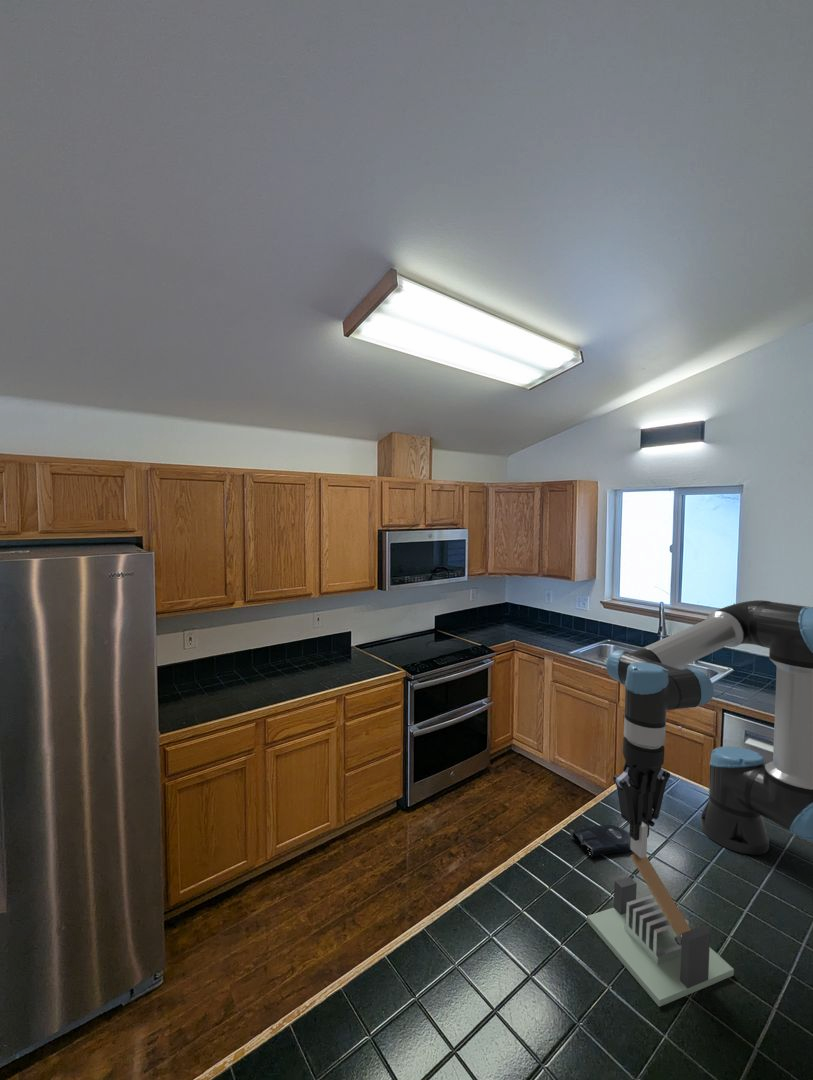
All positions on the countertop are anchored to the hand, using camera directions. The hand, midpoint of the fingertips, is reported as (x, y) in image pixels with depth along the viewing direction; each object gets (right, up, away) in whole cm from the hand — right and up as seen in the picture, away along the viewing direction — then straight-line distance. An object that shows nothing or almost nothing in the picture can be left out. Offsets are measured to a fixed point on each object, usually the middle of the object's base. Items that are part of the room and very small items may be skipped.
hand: (638, 852), depth 95 cm
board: (+1, -16, -4) cm, 16 cm away
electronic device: (+4, -16, +25) cm, 30 cm away
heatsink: (+1, -15, -4) cm, 15 cm away
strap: (+2, -5, -5) cm, 7 cm away
